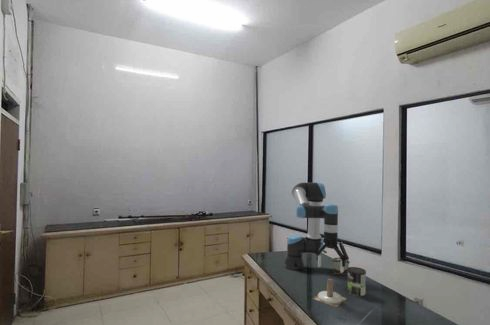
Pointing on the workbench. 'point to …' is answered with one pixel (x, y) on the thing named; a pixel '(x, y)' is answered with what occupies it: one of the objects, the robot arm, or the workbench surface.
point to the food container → (337, 266)
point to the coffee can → (356, 281)
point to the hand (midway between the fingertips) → (330, 269)
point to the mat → (328, 303)
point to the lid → (330, 294)
